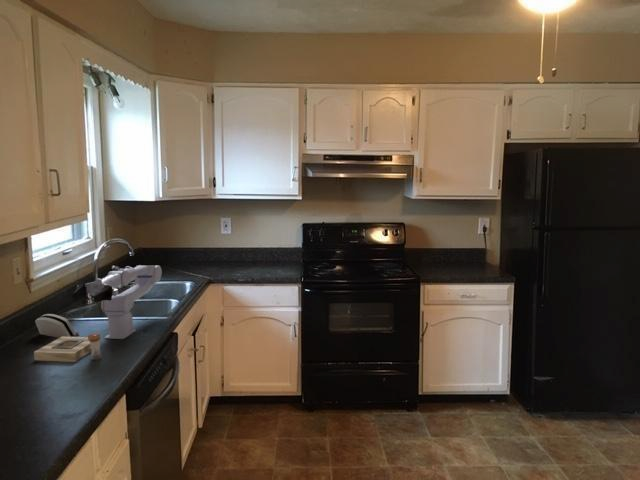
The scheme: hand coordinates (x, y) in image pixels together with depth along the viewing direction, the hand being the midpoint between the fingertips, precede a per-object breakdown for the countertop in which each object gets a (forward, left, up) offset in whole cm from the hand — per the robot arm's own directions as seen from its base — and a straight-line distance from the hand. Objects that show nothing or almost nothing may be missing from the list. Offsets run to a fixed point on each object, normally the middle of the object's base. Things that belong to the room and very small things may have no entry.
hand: (84, 297), depth 169 cm
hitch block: (-2, -9, -21) cm, 23 cm away
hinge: (-18, -25, -21) cm, 38 cm away
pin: (+2, +4, -21) cm, 21 cm away
